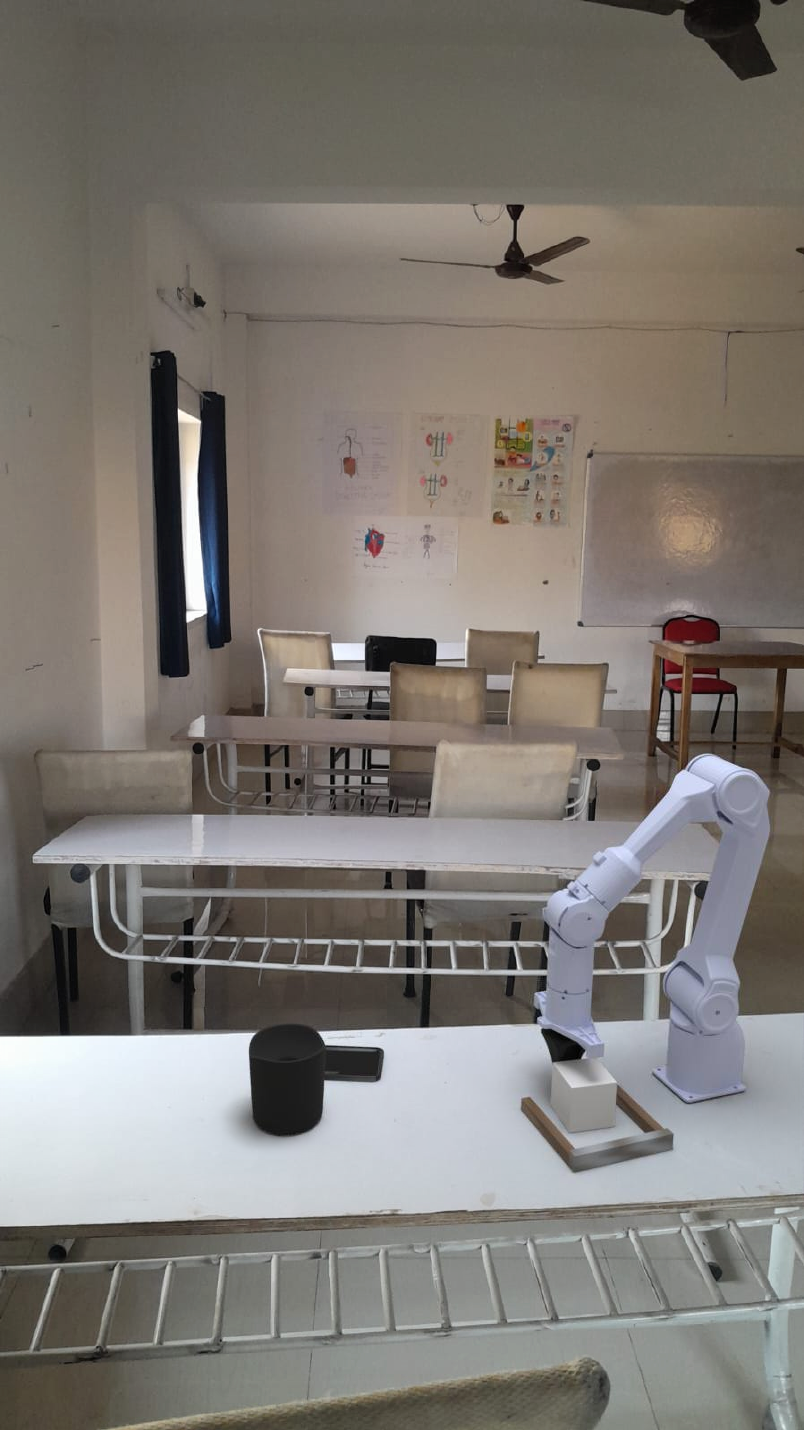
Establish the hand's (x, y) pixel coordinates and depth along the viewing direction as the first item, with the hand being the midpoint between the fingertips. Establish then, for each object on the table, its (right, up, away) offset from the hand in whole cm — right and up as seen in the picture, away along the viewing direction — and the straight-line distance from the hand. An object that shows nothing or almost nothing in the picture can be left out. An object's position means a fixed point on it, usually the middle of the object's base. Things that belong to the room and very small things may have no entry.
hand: (564, 1082), depth 125 cm
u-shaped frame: (+2, -3, -6) cm, 7 cm away
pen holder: (-35, -3, -5) cm, 36 cm away
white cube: (+2, -3, -4) cm, 5 cm away
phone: (-31, -1, +7) cm, 32 cm away
